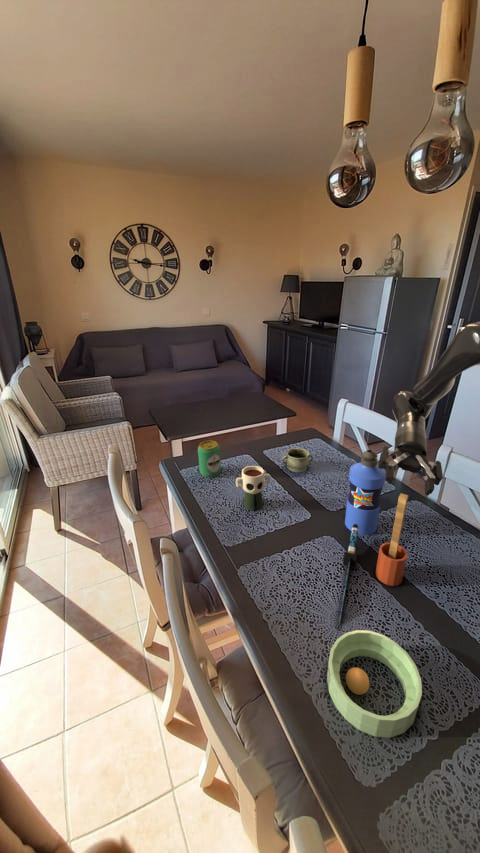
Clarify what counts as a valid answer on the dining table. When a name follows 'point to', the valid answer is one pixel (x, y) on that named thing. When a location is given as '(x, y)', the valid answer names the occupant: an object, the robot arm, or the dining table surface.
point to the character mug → (253, 486)
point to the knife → (350, 558)
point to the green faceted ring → (388, 655)
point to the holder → (390, 565)
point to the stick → (398, 525)
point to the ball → (357, 681)
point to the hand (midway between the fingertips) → (409, 487)
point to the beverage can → (209, 459)
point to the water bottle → (365, 494)
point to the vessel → (297, 459)
